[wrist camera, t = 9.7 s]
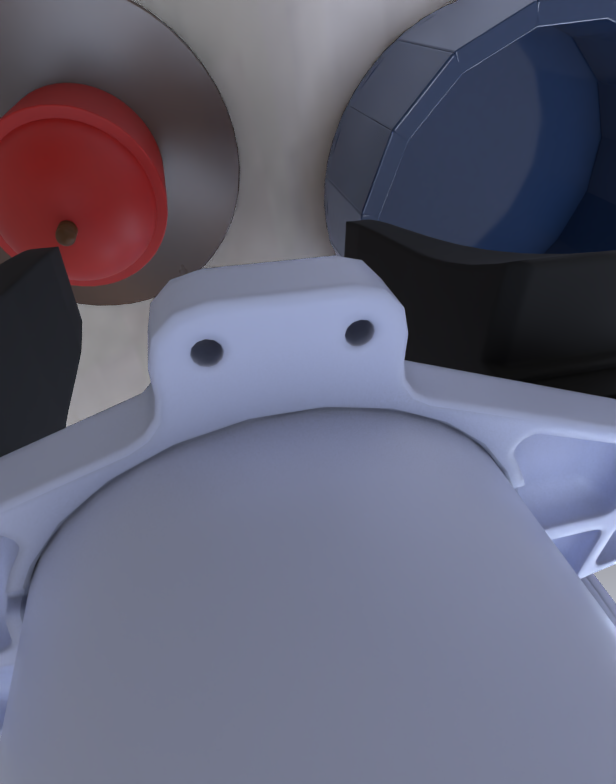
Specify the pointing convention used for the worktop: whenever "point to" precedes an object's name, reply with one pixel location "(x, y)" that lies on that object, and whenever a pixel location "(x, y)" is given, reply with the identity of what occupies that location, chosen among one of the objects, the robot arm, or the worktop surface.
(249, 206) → the worktop surface
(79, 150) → the red rubber stopper
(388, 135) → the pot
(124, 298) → the coaster
